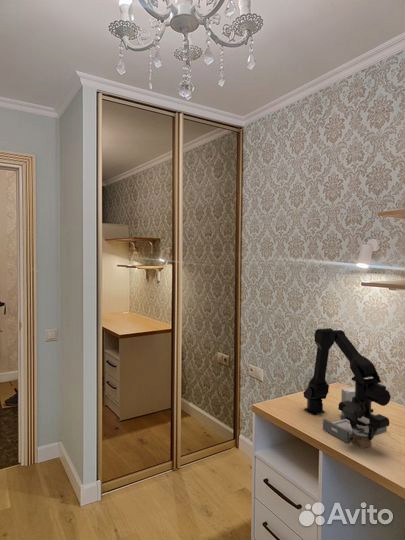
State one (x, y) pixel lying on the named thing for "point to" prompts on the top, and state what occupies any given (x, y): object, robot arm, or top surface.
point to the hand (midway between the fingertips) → (362, 435)
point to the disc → (360, 431)
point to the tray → (339, 429)
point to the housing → (365, 423)
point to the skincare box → (347, 395)
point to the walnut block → (361, 441)
